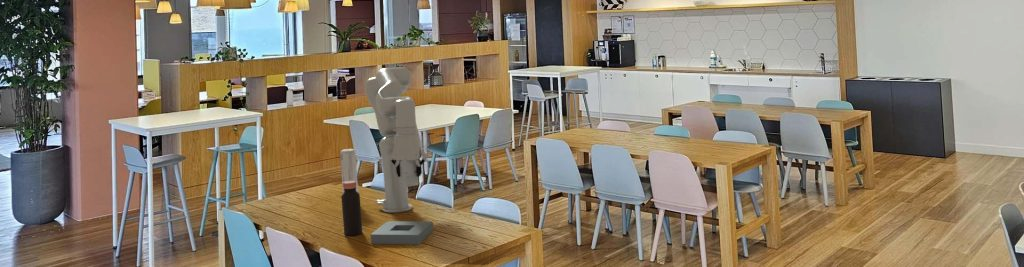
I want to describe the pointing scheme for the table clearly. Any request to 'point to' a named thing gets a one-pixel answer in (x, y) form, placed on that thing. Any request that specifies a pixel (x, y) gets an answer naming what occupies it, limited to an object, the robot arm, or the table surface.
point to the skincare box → (408, 173)
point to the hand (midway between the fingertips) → (409, 175)
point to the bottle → (351, 209)
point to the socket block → (402, 232)
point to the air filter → (348, 166)
